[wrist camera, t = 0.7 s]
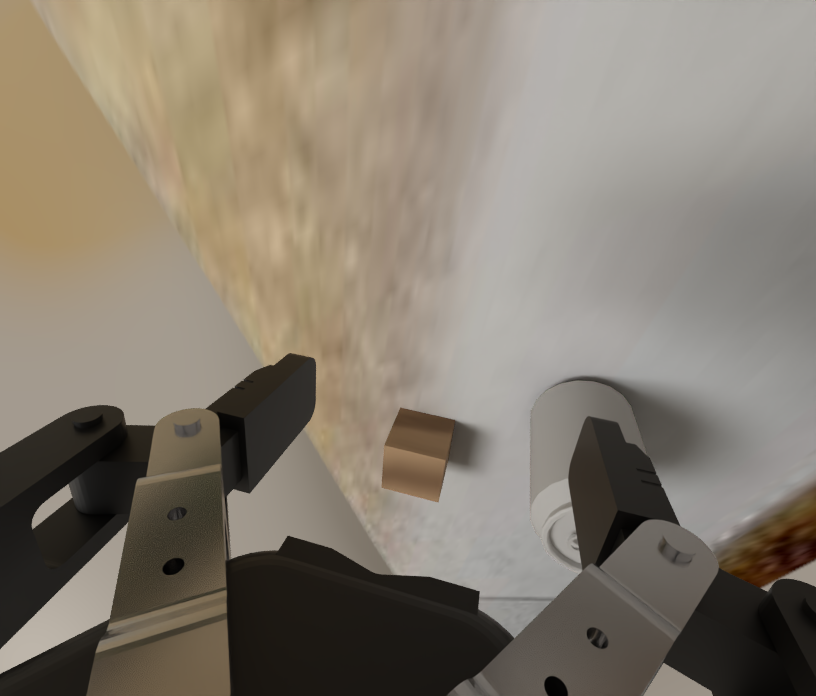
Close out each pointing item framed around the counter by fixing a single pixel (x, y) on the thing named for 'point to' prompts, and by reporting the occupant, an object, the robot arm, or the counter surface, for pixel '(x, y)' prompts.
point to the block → (417, 454)
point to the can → (567, 457)
